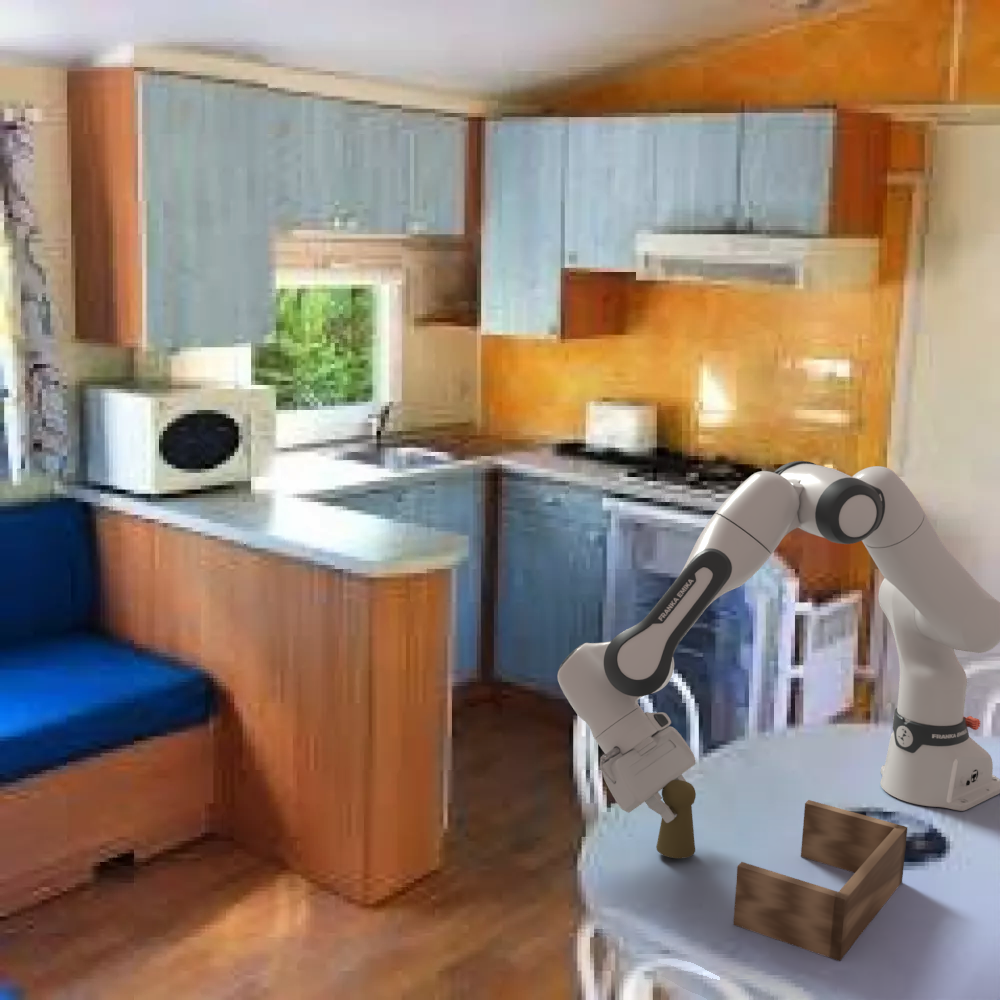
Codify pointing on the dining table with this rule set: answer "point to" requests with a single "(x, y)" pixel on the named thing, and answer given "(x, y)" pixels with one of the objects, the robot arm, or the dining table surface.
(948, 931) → the dining table surface
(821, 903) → the open-fronted crate
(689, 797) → the olive brown pawn
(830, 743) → the dining table surface
